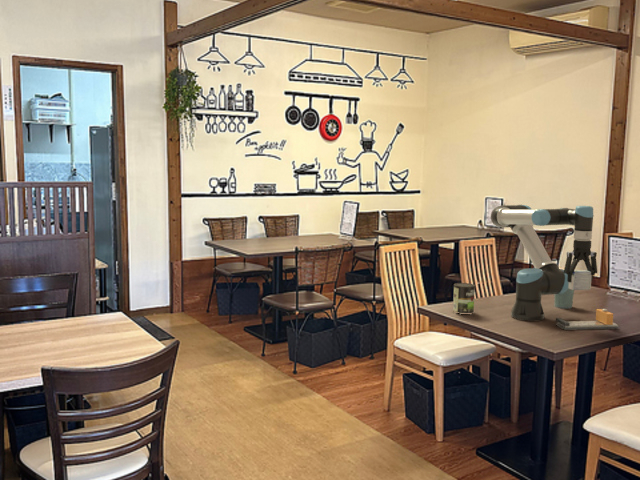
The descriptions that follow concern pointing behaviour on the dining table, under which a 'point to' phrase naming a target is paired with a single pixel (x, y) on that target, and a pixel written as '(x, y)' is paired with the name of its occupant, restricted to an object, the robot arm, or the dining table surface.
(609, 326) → the grey shallow tray
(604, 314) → the rail end clamp
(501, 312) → the dining table surface
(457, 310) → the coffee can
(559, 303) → the green cup
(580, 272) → the medicine box
